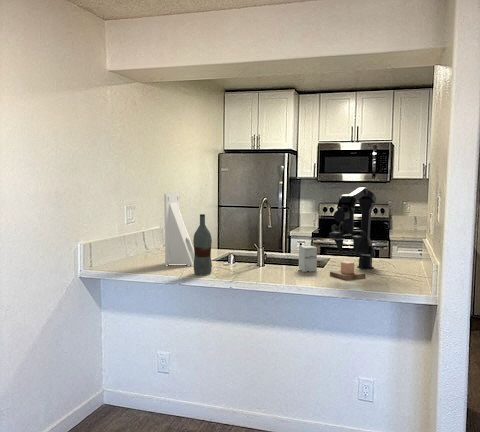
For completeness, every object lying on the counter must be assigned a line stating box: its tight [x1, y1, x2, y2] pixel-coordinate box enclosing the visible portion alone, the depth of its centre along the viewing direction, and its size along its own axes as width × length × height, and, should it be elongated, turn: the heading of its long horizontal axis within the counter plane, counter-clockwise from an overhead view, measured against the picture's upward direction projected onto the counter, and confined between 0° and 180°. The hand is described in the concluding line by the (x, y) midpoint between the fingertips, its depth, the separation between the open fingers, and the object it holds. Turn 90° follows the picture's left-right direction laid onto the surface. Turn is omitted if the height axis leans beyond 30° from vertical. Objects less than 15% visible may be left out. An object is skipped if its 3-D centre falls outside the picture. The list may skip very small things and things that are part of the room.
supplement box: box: [298, 245, 318, 273], centre depth 242 cm, size 7×7×13 cm
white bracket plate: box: [163, 192, 195, 265], centre depth 259 cm, size 20×14×40 cm
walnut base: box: [329, 269, 366, 281], centre depth 226 cm, size 12×12×2 cm
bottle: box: [192, 213, 213, 276], centre depth 233 cm, size 9×9×30 cm
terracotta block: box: [340, 261, 355, 274], centre depth 226 cm, size 4×4×5 cm
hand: (347, 251), depth 229 cm, fingers open, 9 cm apart
